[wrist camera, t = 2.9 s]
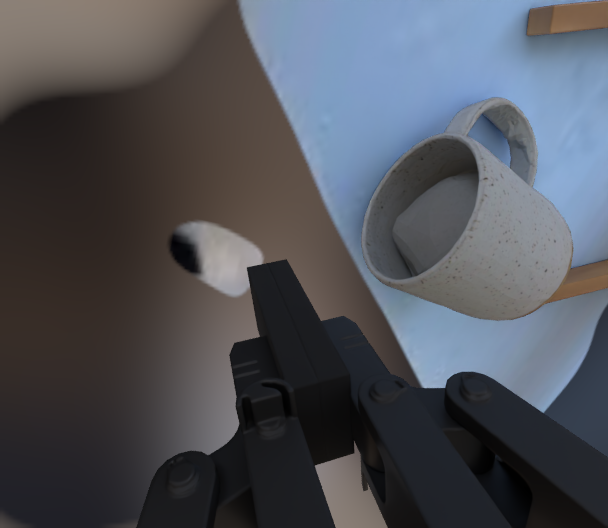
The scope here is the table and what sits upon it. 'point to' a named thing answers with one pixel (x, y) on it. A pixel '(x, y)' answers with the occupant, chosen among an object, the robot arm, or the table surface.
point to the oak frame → (561, 22)
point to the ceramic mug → (469, 222)
